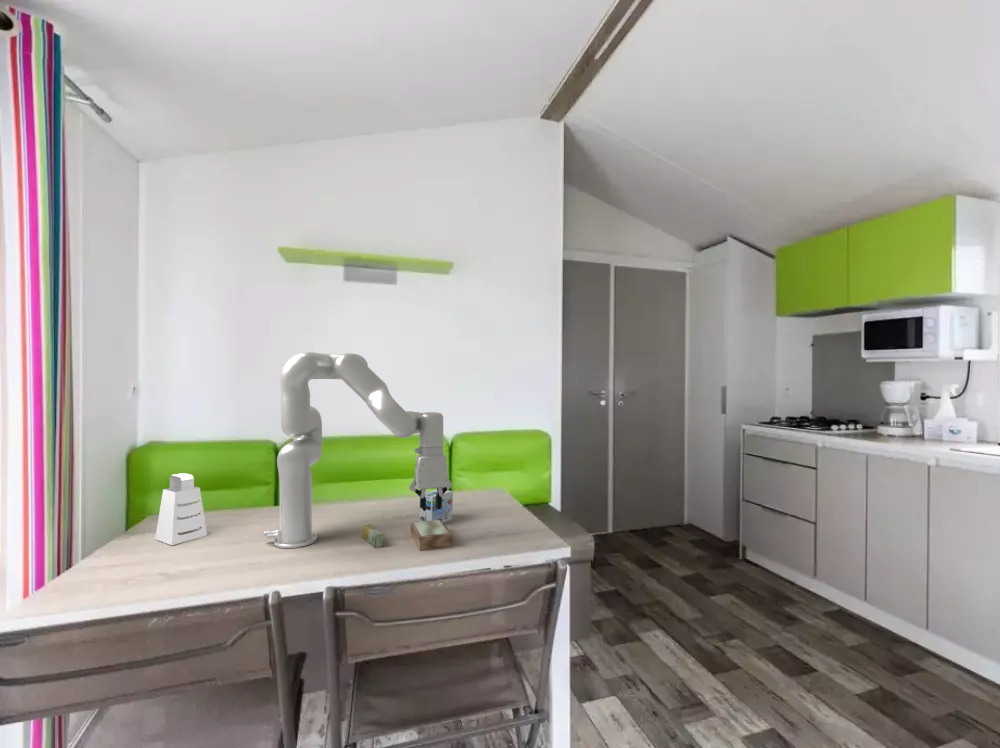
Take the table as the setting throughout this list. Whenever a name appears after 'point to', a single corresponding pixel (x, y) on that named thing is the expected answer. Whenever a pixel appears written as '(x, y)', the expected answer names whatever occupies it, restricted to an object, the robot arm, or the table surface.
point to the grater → (180, 511)
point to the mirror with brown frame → (431, 535)
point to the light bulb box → (432, 511)
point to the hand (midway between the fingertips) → (430, 508)
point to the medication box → (372, 535)
